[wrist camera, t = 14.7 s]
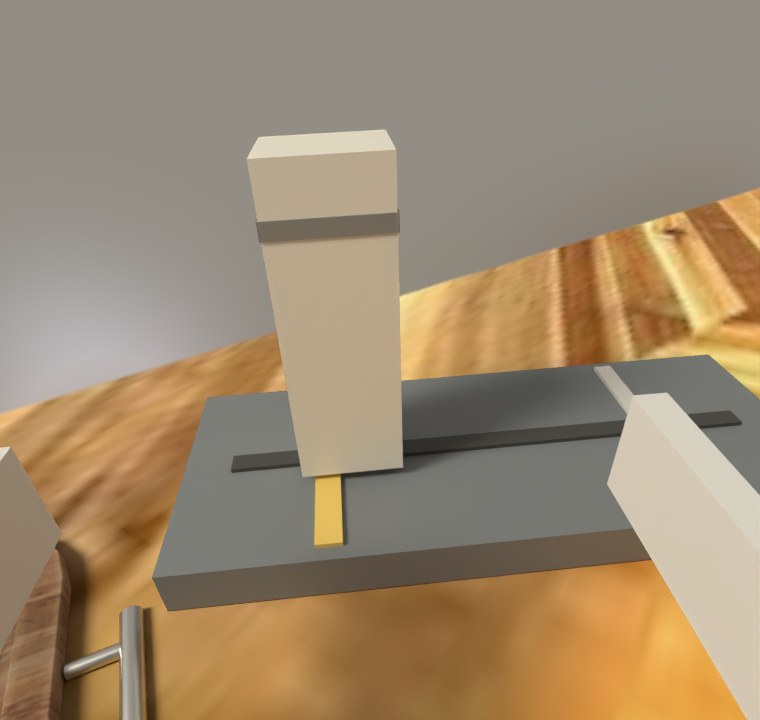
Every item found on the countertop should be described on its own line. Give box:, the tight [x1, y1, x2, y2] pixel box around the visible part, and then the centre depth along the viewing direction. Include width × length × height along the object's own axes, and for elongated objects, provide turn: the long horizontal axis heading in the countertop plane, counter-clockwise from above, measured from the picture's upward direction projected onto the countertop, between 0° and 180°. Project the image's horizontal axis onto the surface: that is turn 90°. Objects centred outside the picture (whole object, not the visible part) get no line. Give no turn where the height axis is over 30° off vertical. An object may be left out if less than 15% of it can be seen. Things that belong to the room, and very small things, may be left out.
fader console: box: [152, 355, 760, 611], centre depth 23 cm, size 26×10×2 cm, turn 95°
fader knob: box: [247, 130, 403, 477], centre depth 18 cm, size 4×3×12 cm
